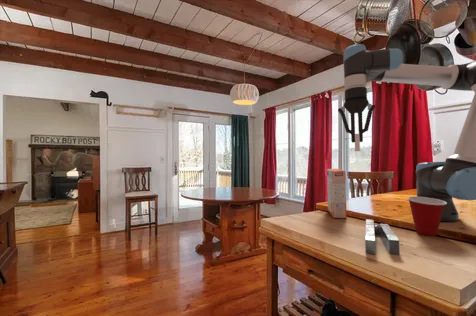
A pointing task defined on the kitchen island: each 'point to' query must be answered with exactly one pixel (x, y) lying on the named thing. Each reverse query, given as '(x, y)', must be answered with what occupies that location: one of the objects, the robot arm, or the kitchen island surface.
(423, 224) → the plastic cup
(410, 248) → the kitchen island surface
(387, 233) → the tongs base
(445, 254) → the kitchen island surface
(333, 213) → the cracker box
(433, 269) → the kitchen island surface
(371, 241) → the bar
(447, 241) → the kitchen island surface
